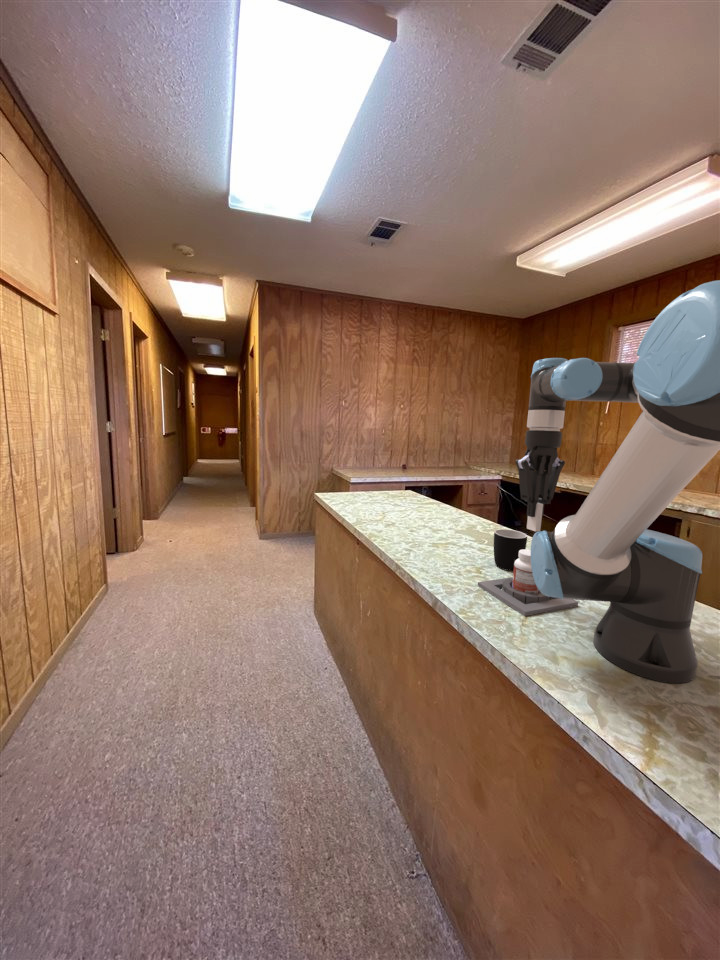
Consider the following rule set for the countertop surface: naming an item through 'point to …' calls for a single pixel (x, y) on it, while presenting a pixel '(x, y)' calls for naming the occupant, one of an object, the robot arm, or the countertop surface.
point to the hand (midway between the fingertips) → (533, 529)
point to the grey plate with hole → (524, 598)
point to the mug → (508, 547)
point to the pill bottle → (524, 574)
